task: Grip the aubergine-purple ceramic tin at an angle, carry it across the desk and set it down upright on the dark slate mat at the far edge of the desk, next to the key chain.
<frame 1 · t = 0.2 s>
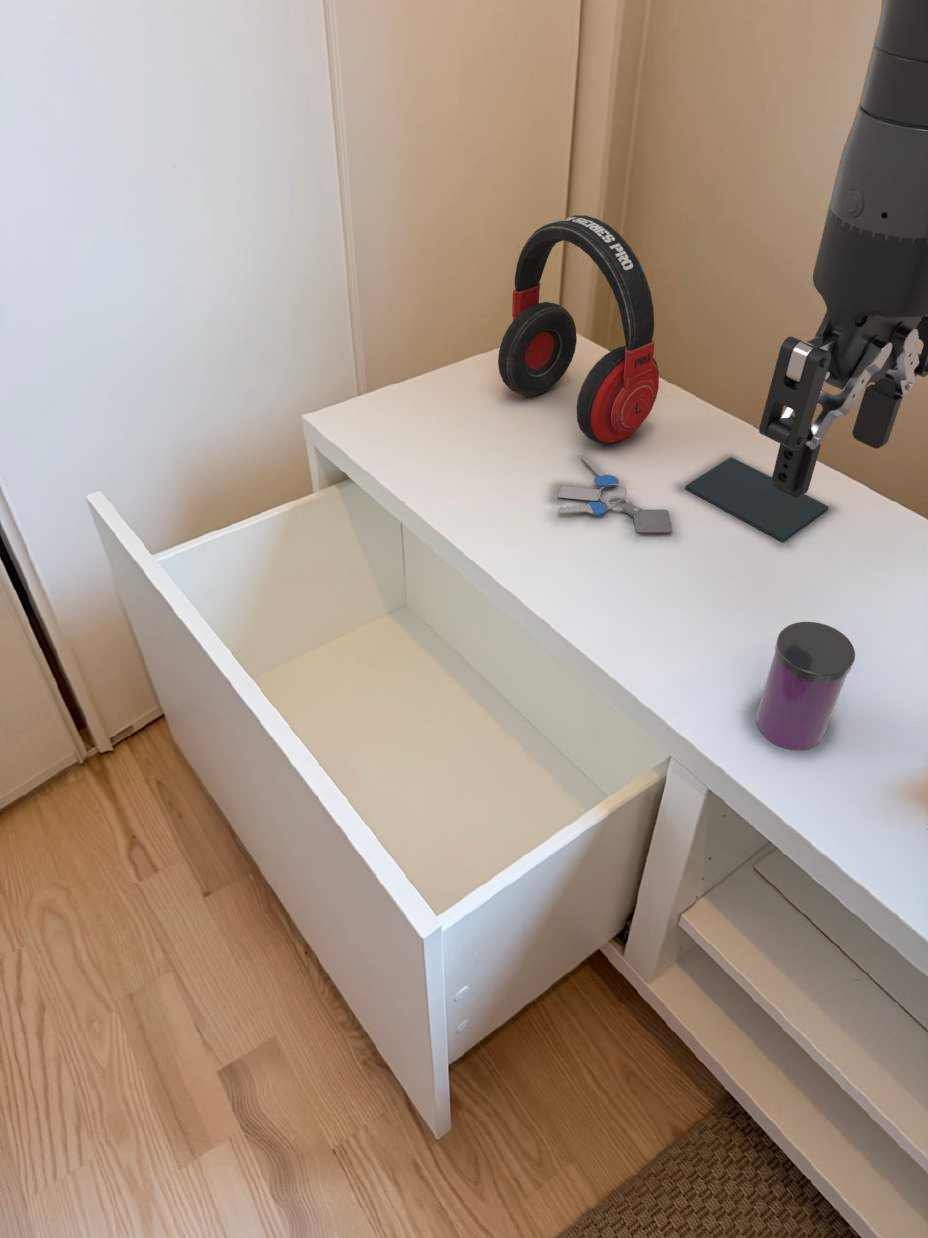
hand: (829, 465, 60), 18 cm above the table, tool pointing down, fingers open, 8 cm apart
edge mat: (755, 499, 87), on the table
headphones: (573, 416, 99), on the table
tin: (789, 724, 68), on the table
key chain: (599, 508, 87), on the table
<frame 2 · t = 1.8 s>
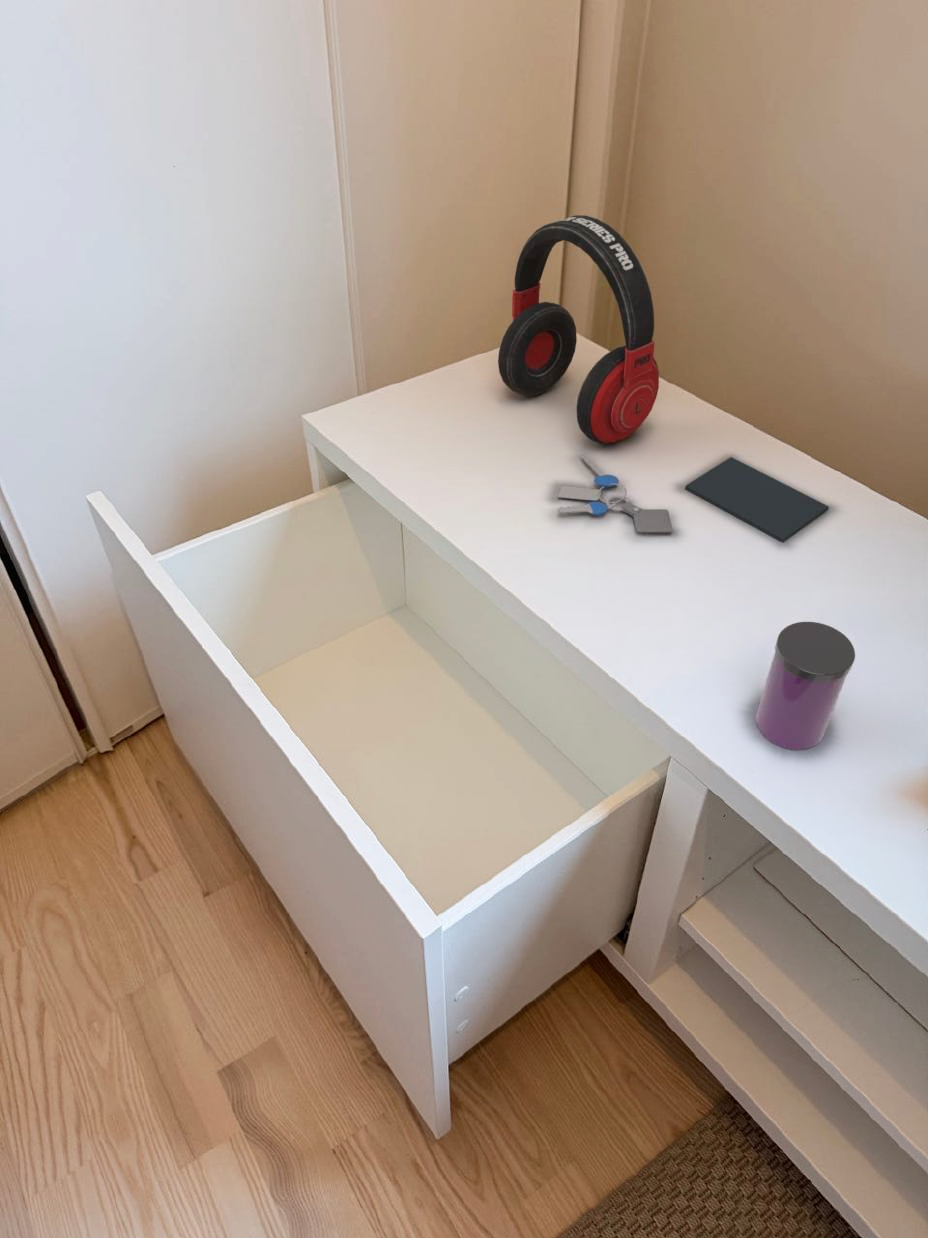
nothing on the table moved.
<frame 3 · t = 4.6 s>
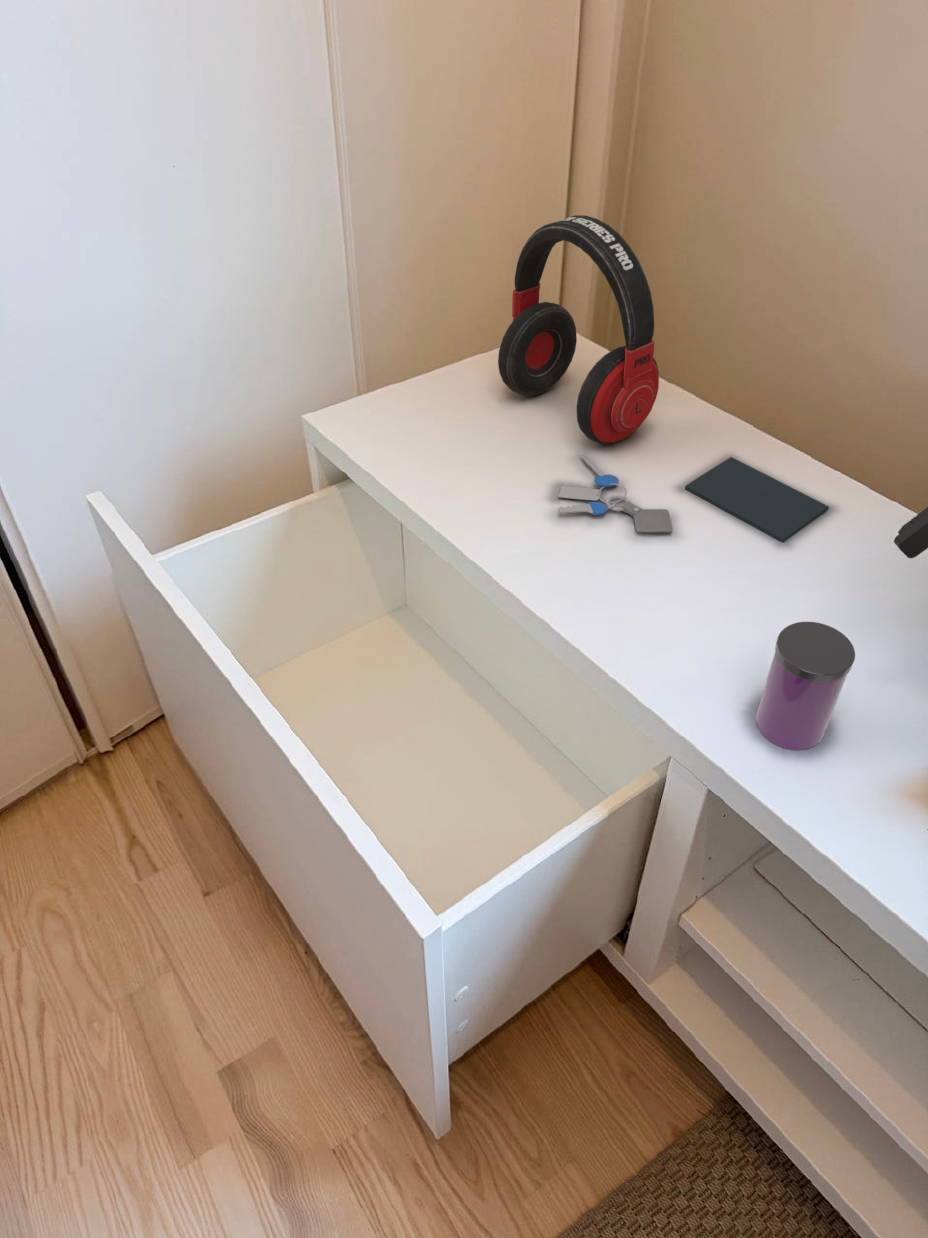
nothing on the table moved.
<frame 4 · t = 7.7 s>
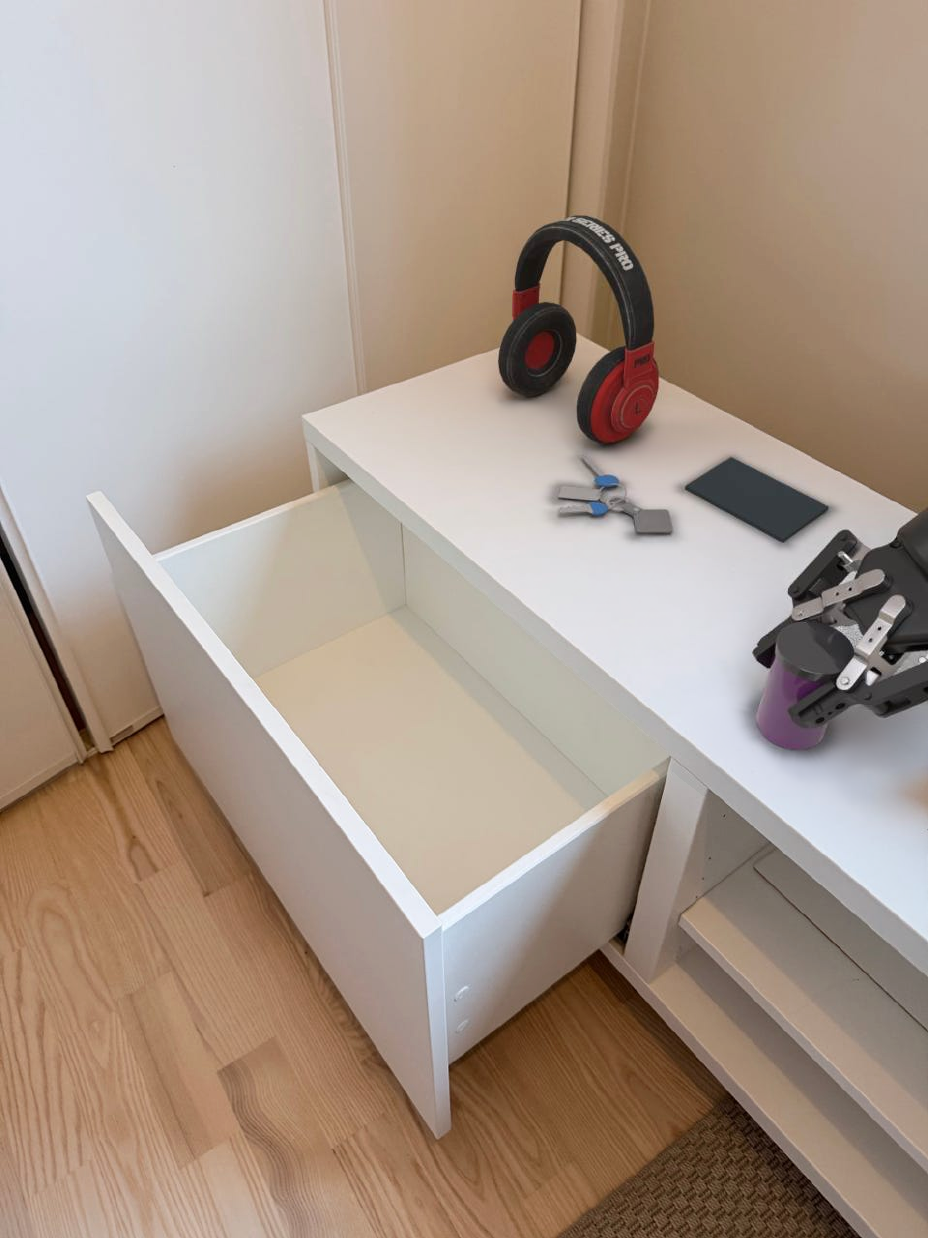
hand: (777, 689, 65), 4 cm above the table, tool tilted 45°, fingers closed on tin, 5 cm apart
tin: (789, 724, 68), on the table, touching gripper
everything else where it was.
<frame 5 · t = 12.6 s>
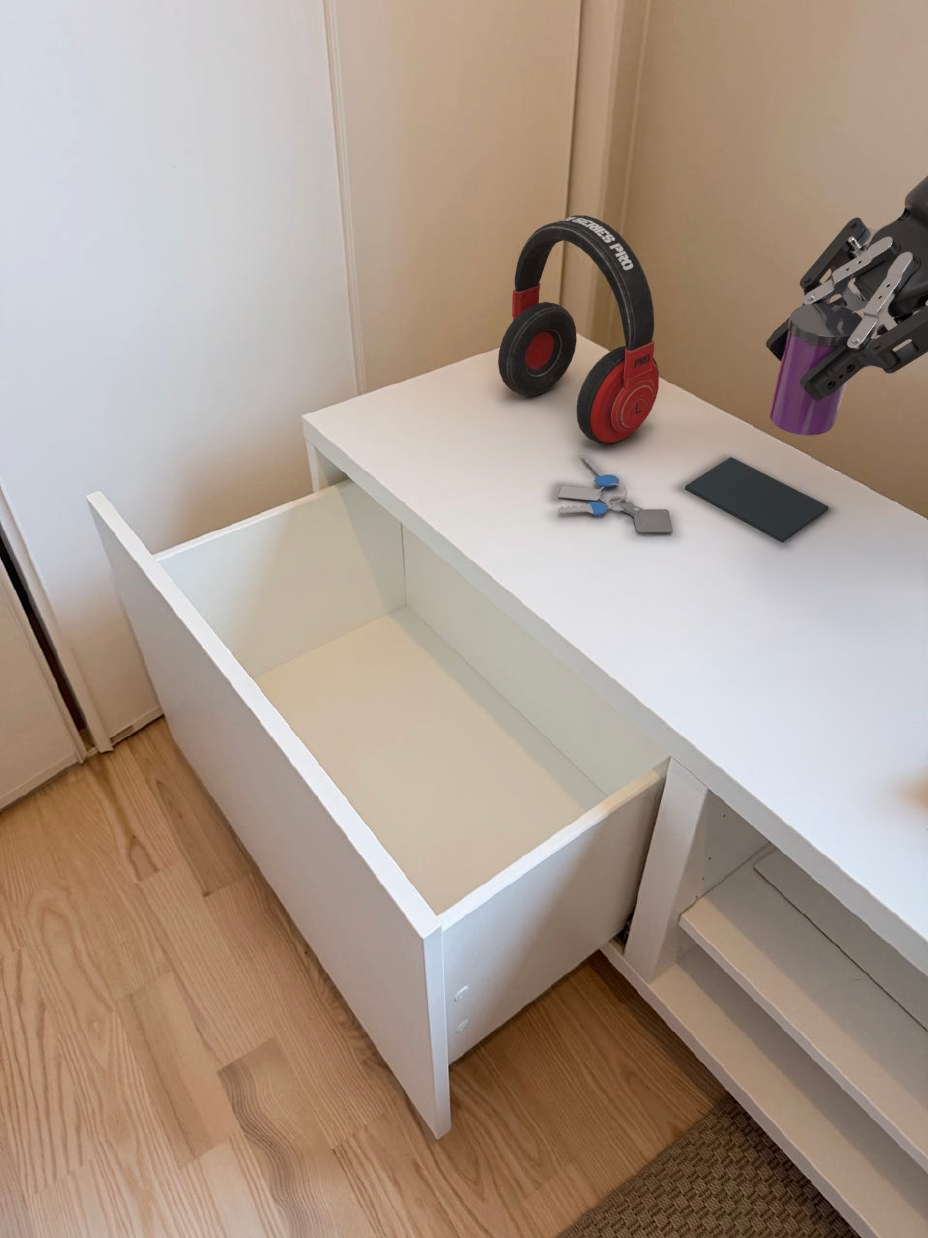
hand: (790, 371, 68), 18 cm above the table, tool tilted 45°, fingers closed on tin, 5 cm apart
tin: (801, 418, 71), point 14 cm above the table, touching gripper
everything else where it was.
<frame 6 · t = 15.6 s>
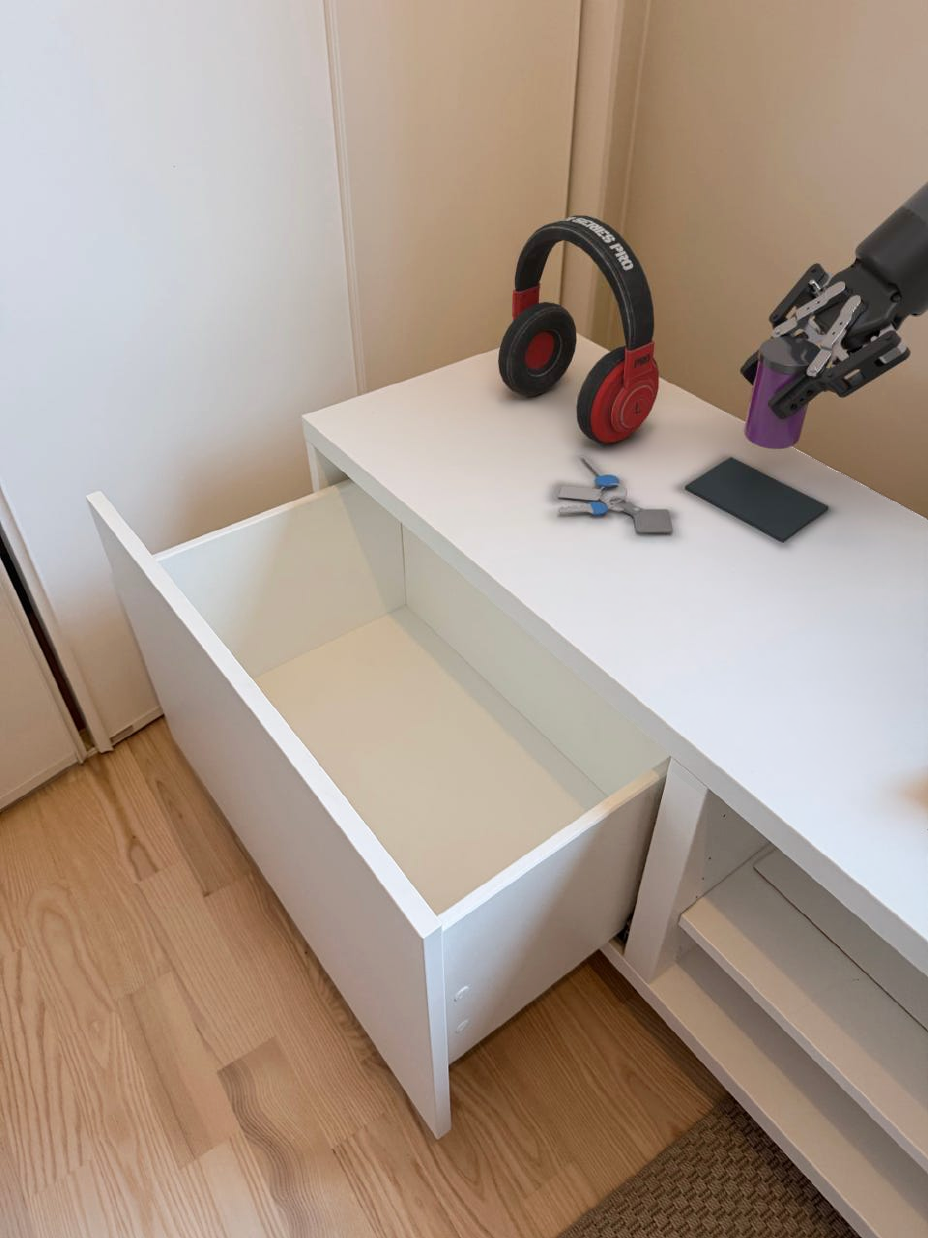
hand: (760, 394, 79), 11 cm above the table, tool tilted 45°, fingers closed on tin, 5 cm apart
tin: (771, 434, 82), point 7 cm above the table, touching gripper
everything else where it was.
when the fingers open (5 cm above the table, at t = 17.9 s): tin stays where it is, resting on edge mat.
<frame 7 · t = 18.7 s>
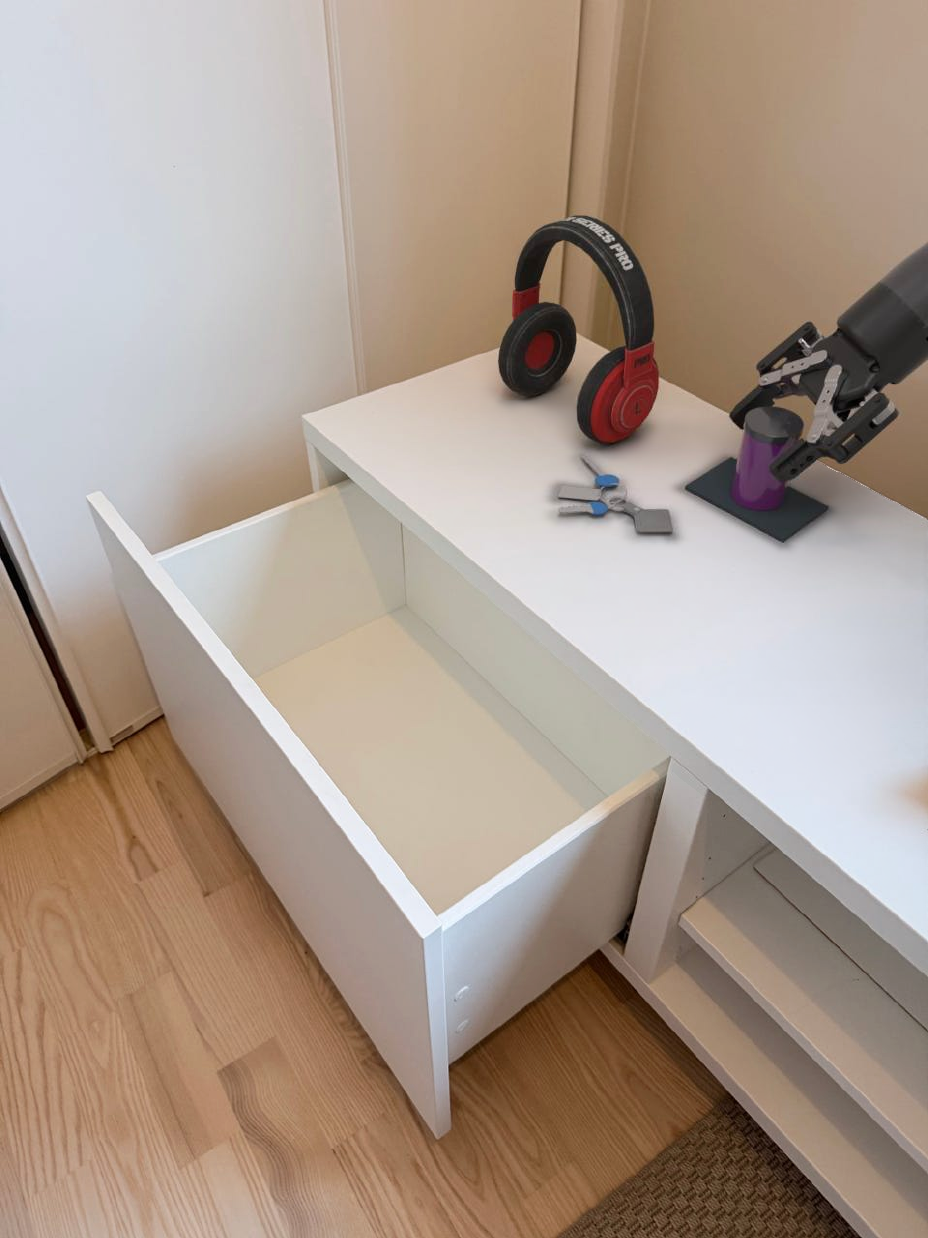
hand: (754, 449, 83), 6 cm above the table, tool tilted 45°, fingers open, 8 cm apart
tin: (756, 495, 87), resting on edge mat
everything else where it was.
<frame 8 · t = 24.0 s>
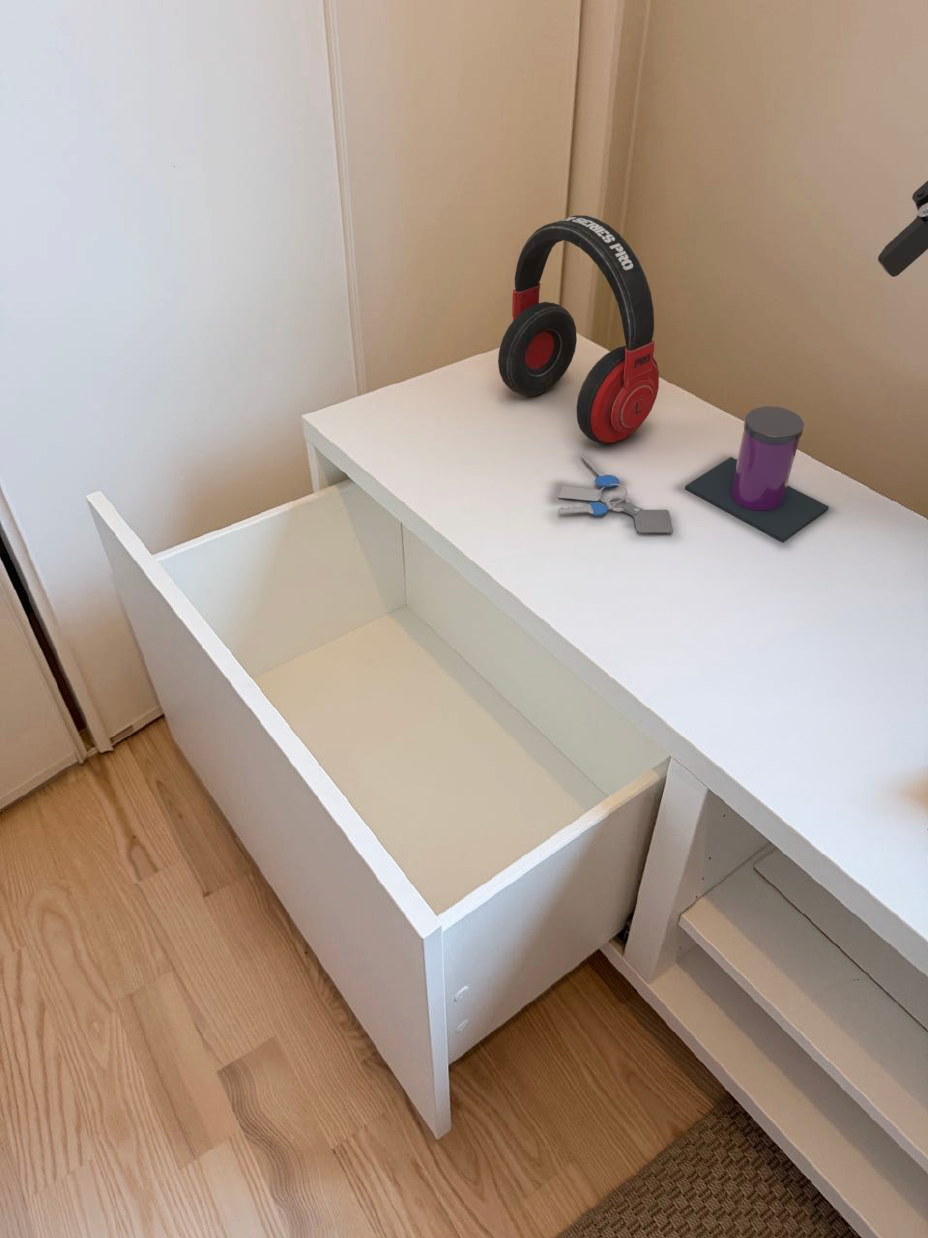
hand: (915, 293, 67), 23 cm above the table, tool tilted 45°, fingers open, 8 cm apart
nothing on the table moved.
at the end: tin inside the target area on the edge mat (0.1 cm from its centre), point 0.4 cm above the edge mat's base; tin tilted 0°; tin 14.6 cm from the key chain (horizontally) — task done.
